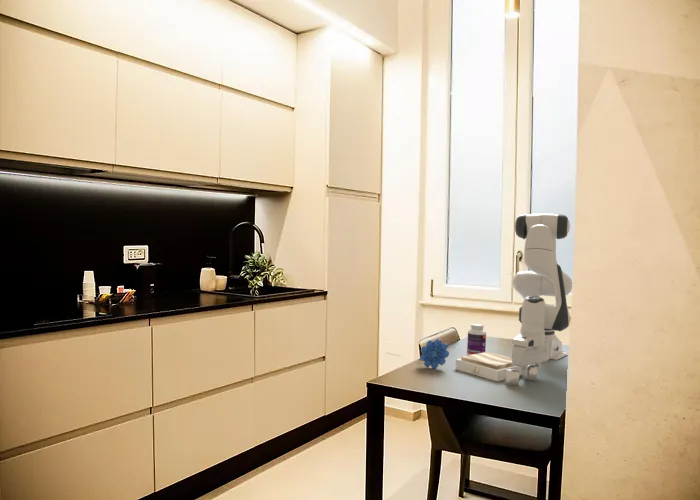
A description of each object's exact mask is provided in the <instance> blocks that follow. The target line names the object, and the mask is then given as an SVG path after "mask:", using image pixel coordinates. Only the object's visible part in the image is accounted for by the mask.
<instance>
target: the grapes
mask: <svg viewBox="0 0 700 500" xmlns="http://www.w3.org/2000/svg"><path fill="white" fill-rule="evenodd" d="M447 349H448V344H447V343H445V342H443V343H442V341H441V339H438V338H436V339H435V340H428V341H426V345H423V346H422V347H421V349H420V352H421V353H422V354H420V357H419V359H420V360H421V361H422V362H423V364H424V366H425V367H427V368H429V367H430V366H431V368H432V369H436V368H439V365H441V366H443V365H445V364H446V358H448V357H449V355H450V351H448V350H447Z"/></svg>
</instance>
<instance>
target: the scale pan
mask: <svg viewBox="0 0 700 500" xmlns="http://www.w3.org/2000/svg"><path fill="white" fill-rule="evenodd" d="M460 358H461V360H465V361H469V362H472V363H476V364H480V365H483V366H487V367H491V368H494V369H500V368H504V367H509V366H513V363H512V357H509V356H505V355H502V354H498V353H494V352H489V351H485V352H484V353H478V354H473V355H463V356H460Z"/></svg>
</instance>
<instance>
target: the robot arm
mask: <svg viewBox="0 0 700 500" xmlns="http://www.w3.org/2000/svg"><path fill="white" fill-rule="evenodd" d="M513 227H514V232H515V234H516V236H517V237H518V238H521V239H523V240H525V242H524V243H525V244H524V254H523V259H524V264H525V266H526V267H527V269H529V270H524V271H518V272H517V273H515V275H514V276H513V280H512V286H513V288H514V290H515V291H516V292H517V293H518V294H519V295H520V296H521V297H522V299H523V302H522V305H521V307H519V310H518V311H519V313H518V321H519V323H520V324H521V327H520V332H519V333H518V334H517V335H516V336H515V337H514V338H513V339H512V340H511V343H512V345H513V347H512V349H511V350H512V351H511V358H512V363H513V365H515V366H518V367H521V369H522V371H523V375H522V377H523V376H525V377H527V376H529V372H528V370H527V368H528V365H534V366H537V367H538V370H539V369H540V368H541V363H544V362H548V361H549V360H559V359H561V358H563V357H566V356H568V353H567V352H566V351H564V350H563V342H562V341H561V340H560V339H559V337H558V336H556V334H555V333H556V332H555V331H557V332H563V331H564V330H566V329H567V328H568V327H570V324H571V323H570V322H571V315H570V311H569V307H568V303H567V296H568V295H569V294H570V293H571V291H572V289H573V286H572V284H573V281H572V278H571V277H570V275H568V274H567V273H565V272H564V271H563V270H562V268H561V265H560V264H558V262H557V240H562V239H565V238H566V237H568V234H569V232H570V229H571V224H570V220H569V218H568V217H567V215H566V214H563V213H562V214H561V213H558V214H555V213H547V212H546V213H542V212H541V213H530V214H527V213H524V214H519V215H518V216H517V217H516V219H515V221H514V226H513ZM541 296H546V297H554V298H555V303H553V304H547V303H546V302H545V299H544V298H542V297H541ZM538 374H539V372H538V373H537V375H538Z"/></svg>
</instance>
